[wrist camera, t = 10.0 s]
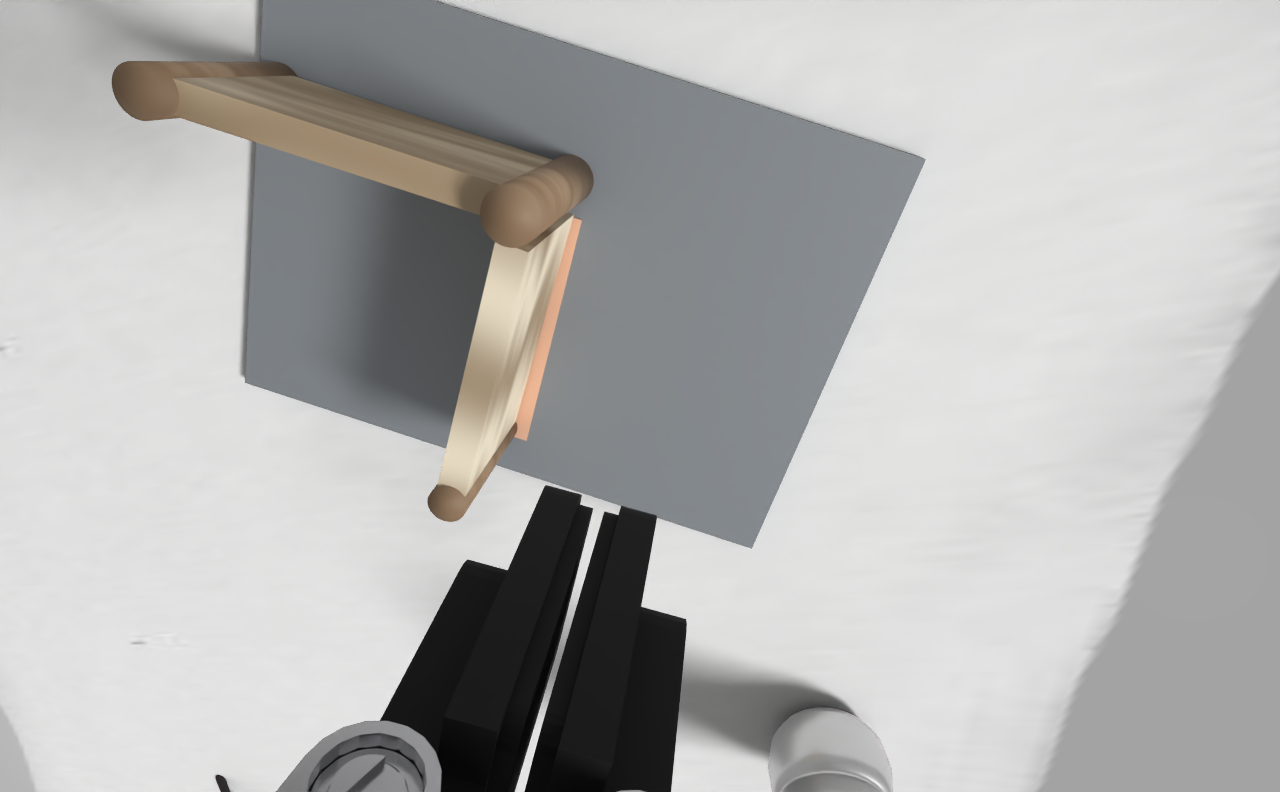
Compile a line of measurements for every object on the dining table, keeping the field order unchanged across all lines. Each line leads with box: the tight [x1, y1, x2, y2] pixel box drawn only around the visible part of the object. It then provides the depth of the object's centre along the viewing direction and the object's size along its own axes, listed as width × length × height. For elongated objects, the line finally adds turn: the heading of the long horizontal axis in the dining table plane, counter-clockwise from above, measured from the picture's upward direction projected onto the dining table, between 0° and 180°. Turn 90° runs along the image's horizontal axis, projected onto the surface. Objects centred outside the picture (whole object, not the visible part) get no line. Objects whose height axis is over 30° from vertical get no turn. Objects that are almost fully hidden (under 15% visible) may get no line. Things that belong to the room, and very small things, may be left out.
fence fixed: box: [112, 61, 594, 248], centre depth 27 cm, size 2×15×8 cm, turn 74°
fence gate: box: [428, 213, 574, 522], centre depth 31 cm, size 12×2×7 cm, turn 162°
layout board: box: [245, 0, 926, 548], centre depth 33 cm, size 20×28×1 cm
